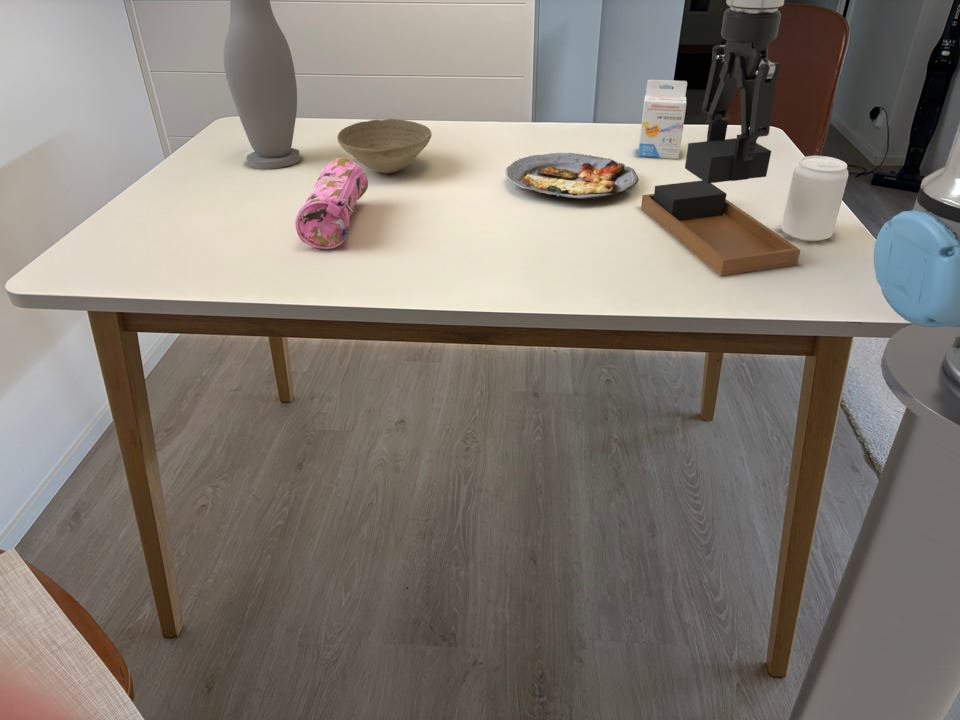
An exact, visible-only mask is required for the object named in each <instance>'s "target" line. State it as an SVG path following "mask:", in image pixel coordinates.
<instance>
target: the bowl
mask: <svg viewBox="0 0 960 720" xmlns="http://www.w3.org/2000/svg"><path fill="white" fill-rule="evenodd" d="M431 138H432V130H431V129H430V128H429V127H427V126H426V125H424V124H422V123H420V122H419V123H418V122H416V121H411V120H406V119H396V118H389V119H371V120H367V121H360V122H355V123H353V124H351V125H348V126H346V127H343V129H341V130H340V131H339V132H338V133H337V136H336V139H337V143H338V144H339V145H340V146H341V148H342V149H343V150H344V151H345V152H346V153H348V154H349V155H350V156H352V157H353V158H354V159H355V160H357V161H359V162H360V163H361V164H362V165H363V166H364V167H366V168H367V169H369V170H372V171H374V172H377V173H381V174H392V173H397V172H399V171H402V170H403V169H404V168H406V167H407V166H409V165H410V164H411V163H412V162H413V161H414V160H415V159H416V158H417V157H418V156H419V155H420V154H421V152H423V150H424V149H425V148H426V147H427V146H428V145H429V142H430V141H431Z"/></svg>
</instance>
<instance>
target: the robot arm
mask: <svg viewBox="0 0 960 720" xmlns="http://www.w3.org/2000/svg"><path fill="white" fill-rule="evenodd" d="M725 3H726V5H727V6H728V7H729V8H726V9H725V11H724V12H723V16H722V17H723V19H722V23H721V24H722V25H721V31H720V35H721V38H723V39H724V40H726V43H725V44H719V45H714V46H713V47H712V51H711V65H710V70H709V74H708V77H707V79H708V80H707V82H706V88H705V93H704V97H703V102H702V107H701V112H702V113H703V114H706V115H707V120H708V127H707V133H706V134H707V135H706V141H715V140H725V139H726V136H727V131H728V124H729V121H728V120H727V119H729V118H730V115H729V114H728V112H729V109H730V106H731V104H732V101H733V99H734V96H735V94H736V91H737V89H739V92H740V134H736V138H737V139H736V144H735V150H734V157H733V162H732V168H731V173H730V179H729V180H731V181H730V182H736V181H745V180H749V179H748V176H749V171H750V166H751V161H752V159H753V157H754V151H755V146H756V143H757V140H758V138H762V137H767V136H769V134H770V129H771V120H772V114H773V113H772V112H773V105H774V98H775V97H774V96H775V91H776V81H777V78H778V76H779V72H780V70H781V63H780V62H778V61H777V62H772V61H770V59H769V44H770V43H771V42H773V41H775V40H776V39H777V37H778V33H779V30H780V29H779V28H780V23H781V19H782V18H781V17H782V13H781V11H780V10H778V9H780V8H782V7H783V6H784V5H785V0H726V2H725ZM873 268H874V269H873V270H874V274H875V278H876V282H877V284H878V286H879V287H880V290H881V294H882V296H883V298H884V299H885V301H886V302H887V304H888V305H889V306H890V308H891V309H892V310H893V311H894V312H895V313H896V314H897V315H898V316H900V318H902V319H903V320H905V321H907V322H909V323H910V324H915V325H918V326H922V327H944V326H950V327H960V121H959V122H958V126H957V128H956V132H955V135H954V136H953V140H952V144H951V146H950V150H949V153H948V156H947V159H946V163H945V164H944V166H942V167H940V168H939V169H937V170H935V171H933V172H931V173H929V174H927V175H926V176H925V177H923V178H922V180H921V182H920V188H919V190H918V194H917V196H916V200H915V202H914V204H913V209H912V210H911V209H910V210H903V211H901V212H899V213H898V214H896V215H894V216H893V217H892V218H891V219H890V220H887V221H886V222H885V223H884V224H883V225H882V227H881V228H880V230H879V231H878V234H877V237H876V239H875V243H874V249H873ZM943 365H944V369H945V371H946V373H947V375H948V376H949V377H950V379H951V380H952V381H953V382H954V383H955V384H957V385H958V386H959V387H960V333H959V334H958V335H957V336H956V337H955V338H954V339H953V341H952V342H951V344H950V345H949V347H948V349H947V352H946V354H945V357H944V360H943Z"/></svg>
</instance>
